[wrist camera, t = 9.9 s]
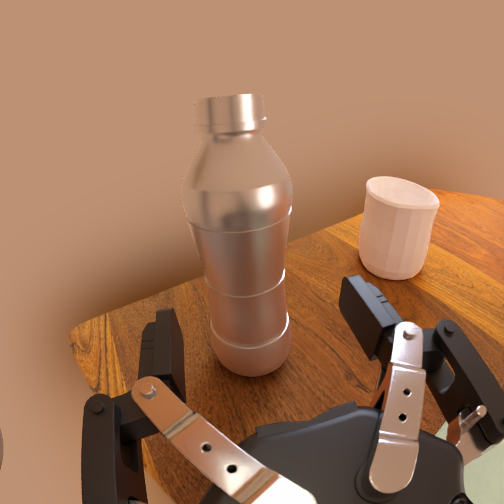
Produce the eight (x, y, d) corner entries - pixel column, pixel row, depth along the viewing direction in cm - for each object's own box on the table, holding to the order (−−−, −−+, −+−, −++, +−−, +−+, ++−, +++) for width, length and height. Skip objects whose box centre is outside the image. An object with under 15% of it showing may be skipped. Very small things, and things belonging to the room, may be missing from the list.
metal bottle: (240, 400, 20) (194, 99, 9) (202, 345, 25) (153, 106, 14) (306, 362, 22) (321, 93, 12) (262, 317, 27) (248, 94, 17)
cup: (388, 293, 29) (407, 212, 24) (339, 250, 37) (345, 180, 32) (436, 269, 31) (454, 200, 26) (387, 235, 39) (397, 173, 34)
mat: (460, 576, 2) (464, 576, 2) (368, 502, 11) (370, 501, 11) (544, 443, 8) (547, 440, 8) (471, 383, 17) (474, 380, 17)
